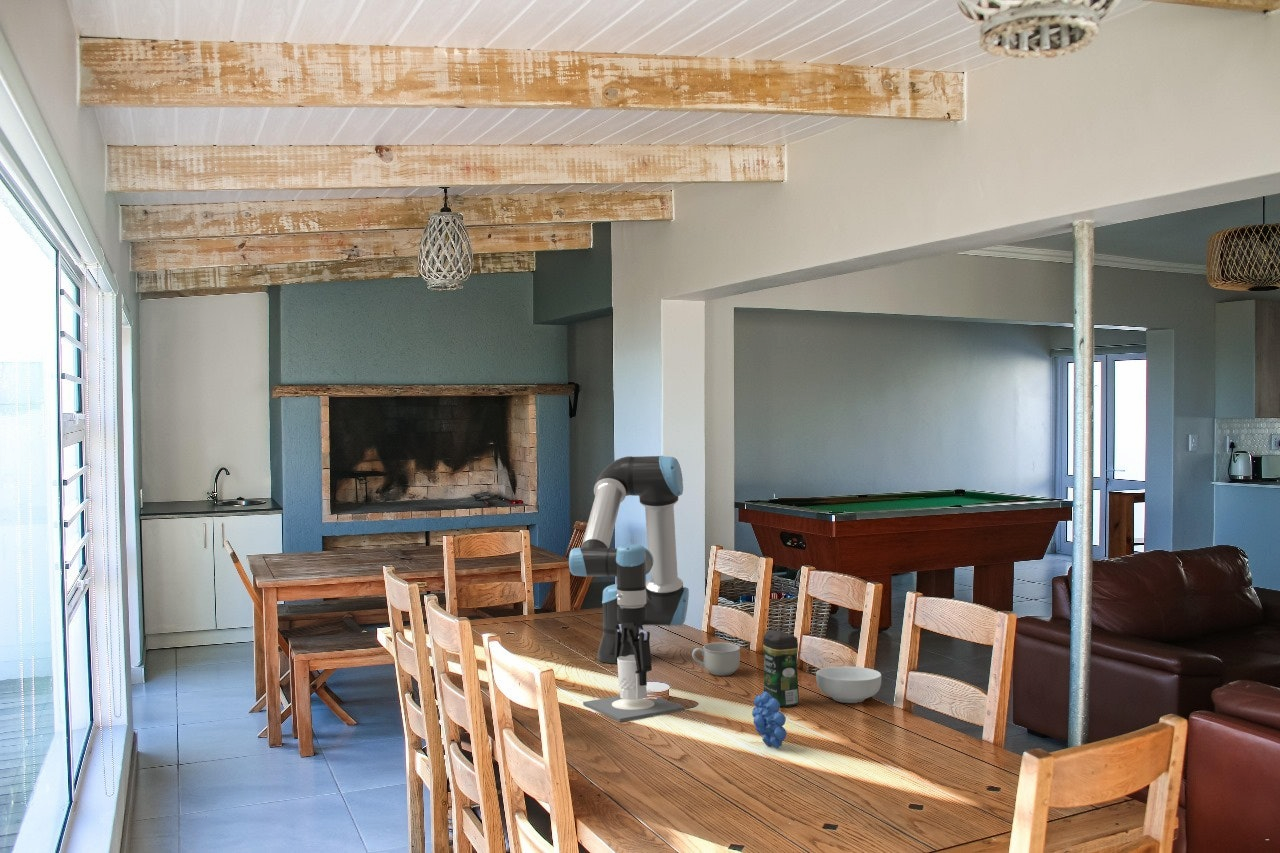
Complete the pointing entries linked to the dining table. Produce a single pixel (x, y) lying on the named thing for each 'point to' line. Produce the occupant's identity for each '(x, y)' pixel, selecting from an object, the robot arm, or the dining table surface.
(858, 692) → the cereal bowl
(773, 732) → the grapes
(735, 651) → the teacup
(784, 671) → the coffee jar
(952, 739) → the dining table surface
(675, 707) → the mat
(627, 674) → the white cup
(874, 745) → the dining table surface
